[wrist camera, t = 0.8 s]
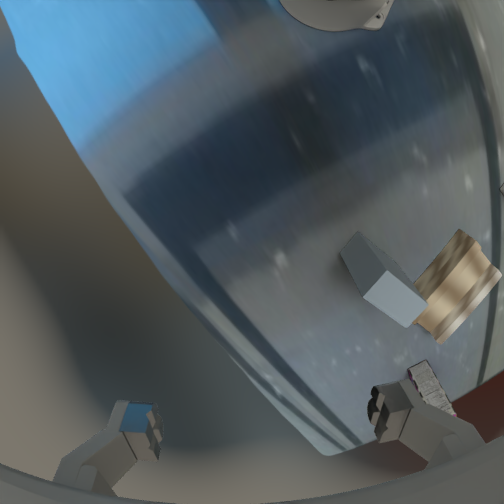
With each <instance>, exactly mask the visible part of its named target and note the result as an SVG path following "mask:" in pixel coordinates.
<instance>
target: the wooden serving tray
mask: <svg viewBox="0 0 504 504" xmlns="http://www.w3.org/2000/svg"><path fill="white" fill-rule="evenodd" d="M480 249H481V246H480V245H479V244H478V243H477V241H476V240H474V239H473V238H472V237H470V236H469V235H467V234H466V233H465V232H463V231H462V230H460V229H458V231H457V232H456V233H455V235H454V236H453V237H452V238H451V240H450V241H449V242H448V244H447V245H446V246H445V247H444V249H443V250H442V251H441V252H440V253H439V255H438V256H437V257H436V258H435V259H434V261H433V262H432V263H431V264H430V265H429V267H428V268H427V269H426V270H425V271H424V272H423V274H422V275H421V276H420V277H419V278H418V279H417V280H416V282H415V283H414V284H413V285H414V286H415V287H416V289H417V290H418V291H419V292H420V294H421V295H422V296H423V298H424V299H425V300H426V302H427V303H428V304H429V305H428V306H427V307H426V308H425V310H424V311H423V312H422V313H421V314H420V315H419V316H418V317H417V318H416V319H415V320H414V321H413V322H412V323H413V324H414V325H415V324H416V323H419V324H420V325H421V326H423V327H424V328H425V329H426V330H428V331H429V332H430V333H431V334H432V336H433V337H434V339H435V341H437V342H438V343H439V344H442V343H443V342H444V341H445V340H446V339H447V338H448V337H449V336H450V335H451V334H452V333H453V332H454V331H455V330H456V329H457V328H458V327H459V326H460V325H461V323H462V322H463V321H464V320H465V319H466V318H467V317H468V316H469V315H470V314H471V312H472V311H473V310H474V309H475V308H476V307H477V306H478V304H479V303H480V302H481V301H482V300H483V299H484V297H485V296H486V295H487V294H488V293H489V291H490V290H491V289H492V288H493V287H494V285H495V284H496V283H497V282H498V280H499V279H500V278H501V276H502V274H501V273H500V271H499V270H498V269H497V268H496V267H494V266H493V265H492V264H491V263H490V262H489V261H488V259H487V258H486V257H485V255H484V254H483V253H482V252H481V250H480Z"/></svg>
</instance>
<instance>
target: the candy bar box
mask: <svg viewBox="0 0 504 504" xmlns="http://www.w3.org/2000/svg"><path fill="white" fill-rule="evenodd" d="M408 372H409V375H410V379H411V382H412V384H413V385H414V387H415V388H416V390H417V391H418V393H419V394H420V396H421V397H422V399H423V401H424V402H425V404H431V405H433V406H435V407H437V408H439V409H441V410H443V411H445V412H447V413H449V414H451V415H453V416H455V417H456V412H455V411H454V409H453V407H452V405H451V403H450V401H449V399H448V397H447V395H446V393H445V392H444V390H443V388H442V386H441V385H440V383H439V381H438V379H437V377H436V375H435V374H434V372H433V370H432V368H431V367H430V365H429V363H428V361H427V360H424V361H422V362H420V363H418V364H416V365H415V366H413V367H411V368H409V369H408Z"/></svg>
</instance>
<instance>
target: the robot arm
mask: <svg viewBox="0 0 504 504" xmlns="http://www.w3.org/2000/svg"><path fill="white" fill-rule="evenodd" d="M279 1H280V2H281V4H282V6H283V7H284V8H285V9H286V10H287V11H288V12H289V13H290V14H291V15H292V16H293V17H294V18H296V19H297V20H299V21H300V22H302V23H304V24H306V25H308V26H311V27H313V28H316V29H320V30H325V31H346V30H350V29H355V28H361V29H366V30H373V31H376V30H379V29H380V28H381V27H382V26H383V24H384V21H385V19H386V17H387V15H388V13H389V11H390V8H391V6H392V4H393V2H394V0H279ZM377 15H378V17H379V19H378V18H376V16H377ZM371 395H372V398H371V399H370V400H369V402H368V406H367V414H368V418H369V421H370V423H371V424H373V425H374V426H376V427H375V430H374V432H375V435H376V437H377V439H378V442H379V443H383V442H387V441H392V440H396V439H399V440H400V441H401V442H402V443H404V444H405V445H406V446H408V447H409V448H410V449H412V450H413V451H415V452H416V453H417V454H419V455H420V456H422V457H423V458H424V459H426V460H427V461H428V462H429V463H428V465H427V467H426V468H425V470H423V471H420V472H417V473H415V474H411V475H409V476H405V477H402V478H399V479H395V480H392V481H388V482H385V483H381V484H377V485H374V486H370V487H366V488H361V489H357V490H353V491H348V492H343V493H338V494H333V495H328V496H321V497H315V498H309V499H302V500H294V501H285V502H275V503H262V504H504V435H503V436H501V437H499V438H497V439H495V440H493V441H491V442H490V443H487V444H485V442H484V441H483V439H482V438H481V436H480V435H479V433H478V432H477V430H476V429H475V427H474V426H473V425H472V424H470V423H468V422H466V421H464V420H461V419H459V418H457V417H455V416H453V415H451V414H449V413H447V412H445V411H443V410H441V409H439V408H437V407H435V406H433V405H431V404H425V402H424V401H423V399H422V397H421V396H420V394H419V393H418V391H417V390H416V388H415V387H414V385H413V384H412V382H411V380H409V379H404V380H400V381H395V382H391V383H386V384H381V385H377V386H373V388H372V390H371ZM157 413H158V407H157V404H156V403H149V402H136V401H122V400H118V401H117V402H116V404H115V406H114V409H113V412H112V414H111V417H110V420H109V422H108V425H107V428H106V430H101V431H100V432H98V433H97V434H95V435H94V436H93V437H91V438H90V439H89V440H87V441H86V442H85V443H83V444H82V445H80V446H79V447H77V448H76V449H75V450H73V451H72V452H70V453H69V454H68V455H66V456H65V457H63V458H62V459H61V462H60V464H59V467H58V469H57V472H56V474H55V476H54V479H53V481H49V480H45V479H42V478H39V477H36V476H33V475H30V474H27V473H24V472H21V471H19V470H16V469H13V468H10V467H8V466H5V465H3V464H1V463H0V504H175V503H163V502H152V501H144V500H136V499H129V498H123V497H118V496H117V495H116V494H115V492H114V491H113V490H112V489H111V488H112V487H113V486H114V485H115V484H116V483H117V482H118V481H119V480H120V479H121V478H122V477H123V476H124V475H125V473H126V472H128V471H129V469H130V468H131V467H132V466H133V465H134V464H135V463H136V462H137V460H142V461H143V460H144V461H158V460H159V454H160V449H161V448H160V446H159V442H160V441H161V440H162V439H163V422H162V418H161V417H160V416H159V415H158V414H157Z"/></svg>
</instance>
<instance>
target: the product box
mask: <svg viewBox="0 0 504 504" xmlns="http://www.w3.org/2000/svg"><path fill="white" fill-rule="evenodd" d="M340 255H341V257H342V258H343V260H344V262H345V264H346V266H347V268H348V270H349V272H350V274H351V276H352V278H353V280H354V281H355V283H356V285H357V287H358V289H359V291H360V293H361V295H362V297H363V298H364V299H366V300H367V301H369V302H370V303H371V304H373V305H374V306H376V307H377V308H378V309H380V310H381V311H383V312H384V313H385V314H387V315H388V316H390V317H391V318H392V319H394V320H395V321H397V322H398V323H399V324H401V325H402V326H404V327H405V328H407V327H408V326H409V325H410V324H411V323H412V322H413V321H414V320H415V319H416V318H417V317H418V316H419V315H420V314H421V313H422V312H423V311H424V310H425V308H426V307H427V306H428V305H429V304H428V303H427V302H426V300H425V299H424V298H423V296H422V295H421V294H420V292H419V291H418V290H417V289H416V287H415V286H414V285H413V283H412V282H411V281H410V280H409V278H408V277H407V276H406V275H405V273H404V272H403V271H402V270H401V268H400V267H399V266H398V265H397V263H396V262H395V261H394V260H392V259H391V258H390V257H389V256H388V255H386V254H385V253H384V252H383V251H381V250H380V249H379V248H378V247H377V246H375V245H374V244H373V243H372V242H370V241H369V240H368V239H367V238H366V237H364V236H363V235H362V234H361V233H359V232H357V233H356V234H355V235H354V236H353V238H352V239H351V240H350V241H349V242H348V244H347V245H346V246H345V247H344V248H343V250H342V251H341V252H340Z"/></svg>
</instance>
